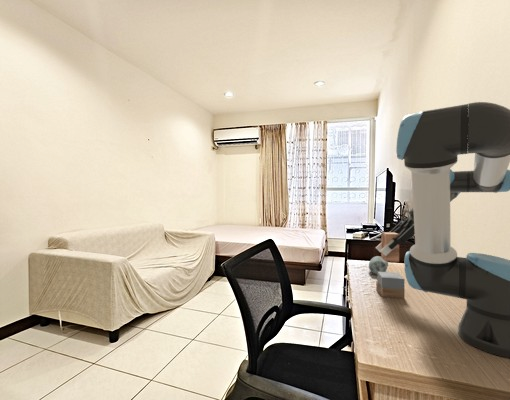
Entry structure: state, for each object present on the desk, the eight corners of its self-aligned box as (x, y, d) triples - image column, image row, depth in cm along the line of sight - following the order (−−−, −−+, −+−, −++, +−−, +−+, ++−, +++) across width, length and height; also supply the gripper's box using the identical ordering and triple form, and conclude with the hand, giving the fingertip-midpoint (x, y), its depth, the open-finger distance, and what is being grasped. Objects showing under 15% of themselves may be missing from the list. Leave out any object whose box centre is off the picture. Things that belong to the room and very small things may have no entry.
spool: (390, 272, 124) (380, 252, 128) (371, 278, 128) (362, 258, 132) (394, 272, 134) (385, 253, 139) (376, 277, 138) (368, 259, 143)
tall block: (399, 261, 103) (399, 234, 102) (385, 261, 103) (385, 234, 103) (394, 258, 108) (394, 232, 107) (381, 258, 108) (381, 232, 108)
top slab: (404, 289, 100) (404, 279, 100) (381, 287, 102) (382, 277, 102) (398, 282, 108) (398, 272, 108) (377, 280, 110) (377, 271, 110)
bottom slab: (404, 299, 100) (404, 288, 100) (382, 297, 102) (382, 287, 102) (396, 291, 108) (396, 282, 108) (376, 290, 110) (376, 281, 110)
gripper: (444, 220, 94) (396, 264, 97) (419, 216, 112) (379, 253, 114) (428, 206, 95) (381, 250, 97) (406, 204, 112) (367, 241, 115)
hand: (380, 251), depth 106 cm, fingers closed on tall block, 5 cm apart
